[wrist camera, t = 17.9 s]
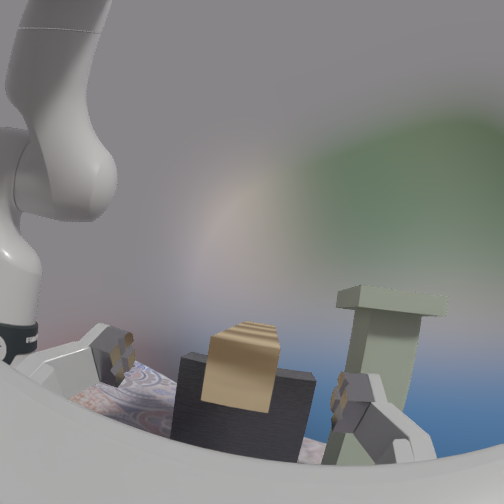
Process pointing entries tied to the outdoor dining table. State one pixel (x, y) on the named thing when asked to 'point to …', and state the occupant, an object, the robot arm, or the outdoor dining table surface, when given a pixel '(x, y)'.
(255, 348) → the beam
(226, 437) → the dark grey upright block
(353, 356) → the pedestal
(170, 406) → the outdoor dining table surface
